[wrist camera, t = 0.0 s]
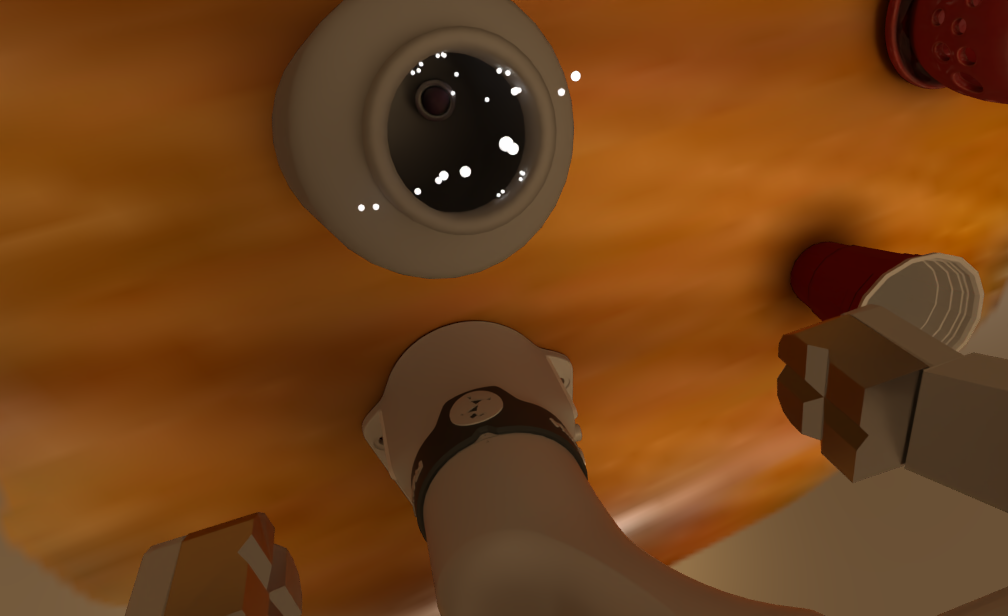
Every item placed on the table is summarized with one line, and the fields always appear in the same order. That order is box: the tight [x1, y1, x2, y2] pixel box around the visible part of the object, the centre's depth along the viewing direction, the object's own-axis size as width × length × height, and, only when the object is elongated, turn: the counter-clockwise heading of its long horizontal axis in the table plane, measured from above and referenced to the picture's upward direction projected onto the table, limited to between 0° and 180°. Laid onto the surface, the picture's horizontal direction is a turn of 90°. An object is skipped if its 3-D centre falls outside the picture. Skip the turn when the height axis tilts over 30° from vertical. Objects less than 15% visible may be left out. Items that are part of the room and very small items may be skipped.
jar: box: [272, 0, 580, 279], centre depth 33 cm, size 19×15×25 cm
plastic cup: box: [791, 242, 984, 352], centre depth 52 cm, size 11×11×12 cm
